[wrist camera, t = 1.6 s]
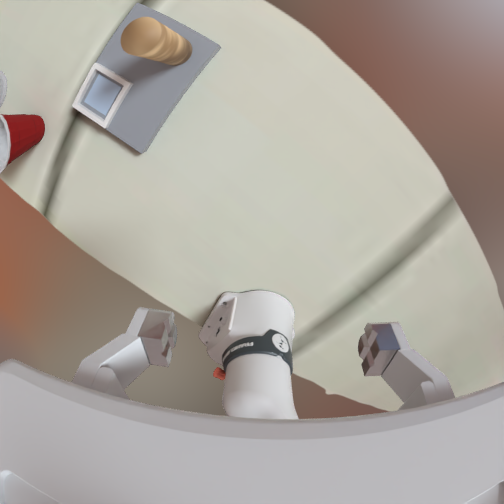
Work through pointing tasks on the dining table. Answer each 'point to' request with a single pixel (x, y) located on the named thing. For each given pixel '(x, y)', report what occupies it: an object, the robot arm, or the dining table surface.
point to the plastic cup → (18, 136)
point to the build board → (140, 84)
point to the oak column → (155, 42)
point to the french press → (2, 87)
